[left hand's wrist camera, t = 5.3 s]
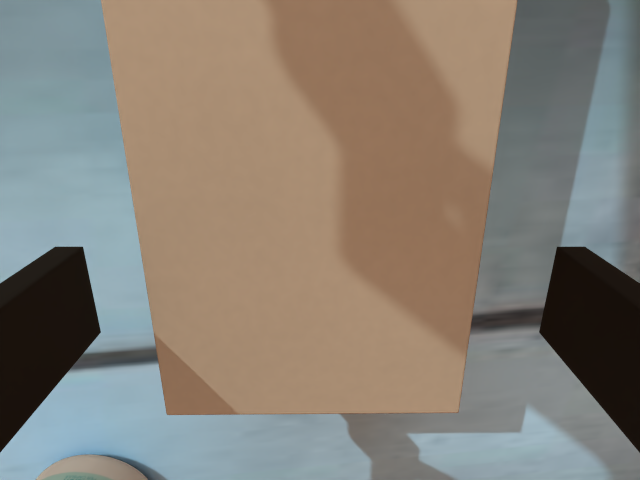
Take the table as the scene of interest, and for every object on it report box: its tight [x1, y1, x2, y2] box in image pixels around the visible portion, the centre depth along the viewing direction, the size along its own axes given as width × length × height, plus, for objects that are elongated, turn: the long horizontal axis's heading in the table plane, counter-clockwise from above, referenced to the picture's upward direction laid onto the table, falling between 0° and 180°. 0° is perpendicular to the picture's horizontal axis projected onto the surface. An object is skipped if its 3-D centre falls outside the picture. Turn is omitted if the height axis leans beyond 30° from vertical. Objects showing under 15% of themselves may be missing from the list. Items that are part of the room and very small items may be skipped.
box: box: [101, 0, 517, 415], centre depth 14 cm, size 22×9×9 cm, turn 0°
